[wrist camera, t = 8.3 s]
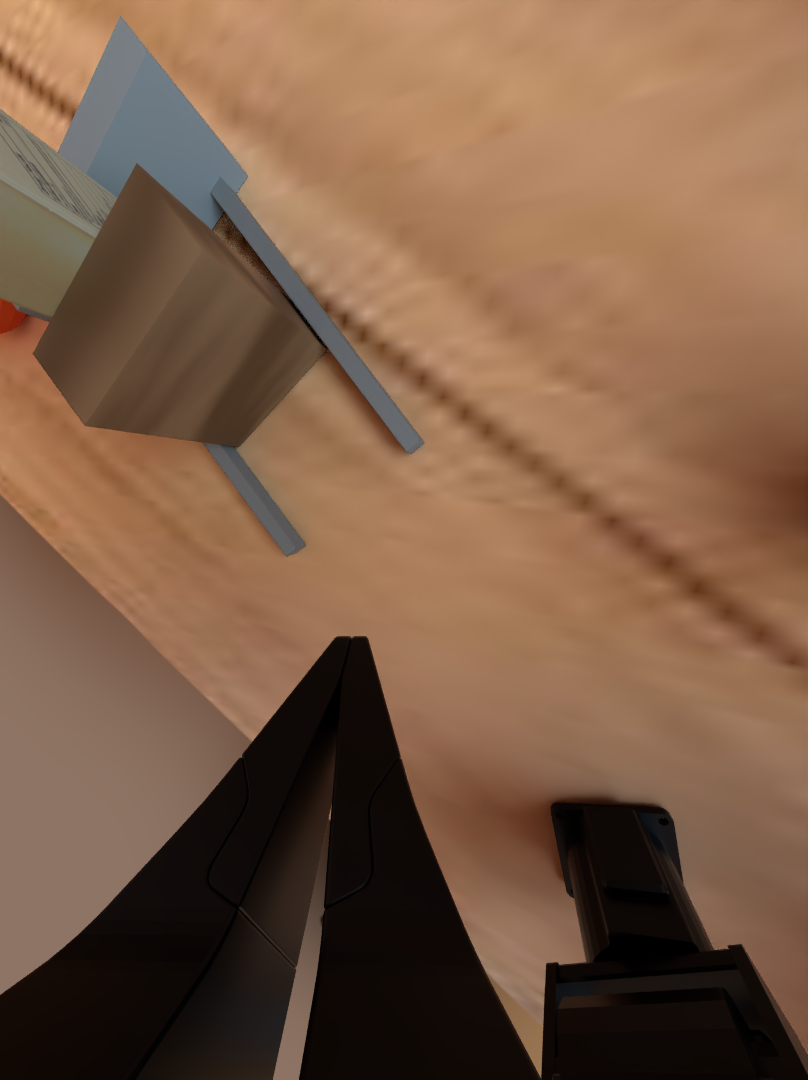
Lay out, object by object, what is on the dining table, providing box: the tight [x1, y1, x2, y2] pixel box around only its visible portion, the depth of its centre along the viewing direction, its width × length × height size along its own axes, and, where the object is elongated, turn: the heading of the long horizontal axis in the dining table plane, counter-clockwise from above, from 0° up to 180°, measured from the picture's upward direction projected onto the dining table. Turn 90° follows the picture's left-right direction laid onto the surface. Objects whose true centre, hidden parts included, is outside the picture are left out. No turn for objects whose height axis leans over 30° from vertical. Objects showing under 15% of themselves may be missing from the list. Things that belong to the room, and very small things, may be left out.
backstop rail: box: [13, 16, 424, 557], centre depth 19 cm, size 21×14×6 cm, turn 38°
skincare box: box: [0, 109, 117, 318], centre depth 16 cm, size 6×4×12 cm
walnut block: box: [33, 163, 327, 447], centre depth 17 cm, size 4×9×9 cm, turn 128°
